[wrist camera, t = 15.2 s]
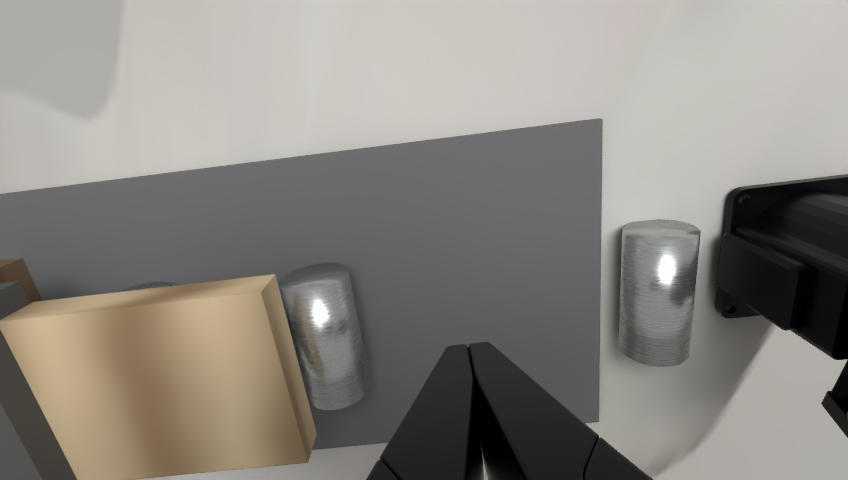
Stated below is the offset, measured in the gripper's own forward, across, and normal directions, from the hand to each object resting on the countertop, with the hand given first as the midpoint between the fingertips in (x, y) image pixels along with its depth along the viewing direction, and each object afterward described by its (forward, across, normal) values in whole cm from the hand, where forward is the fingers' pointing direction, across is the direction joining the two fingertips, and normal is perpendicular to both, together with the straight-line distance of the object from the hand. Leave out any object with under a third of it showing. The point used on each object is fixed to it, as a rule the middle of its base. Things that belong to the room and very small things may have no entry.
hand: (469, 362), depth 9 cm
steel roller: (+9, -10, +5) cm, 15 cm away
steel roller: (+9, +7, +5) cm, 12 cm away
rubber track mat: (+12, +8, +5) cm, 15 cm away
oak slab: (+8, +12, +5) cm, 15 cm away
